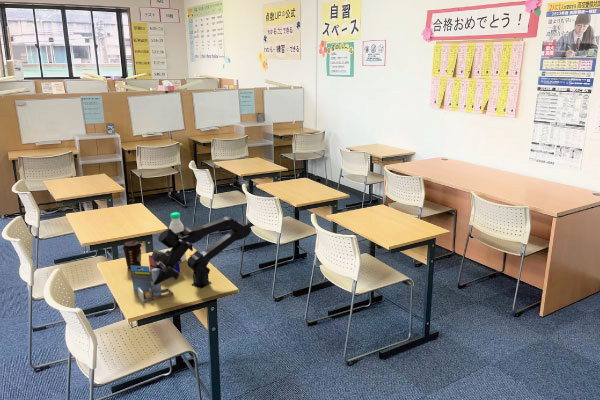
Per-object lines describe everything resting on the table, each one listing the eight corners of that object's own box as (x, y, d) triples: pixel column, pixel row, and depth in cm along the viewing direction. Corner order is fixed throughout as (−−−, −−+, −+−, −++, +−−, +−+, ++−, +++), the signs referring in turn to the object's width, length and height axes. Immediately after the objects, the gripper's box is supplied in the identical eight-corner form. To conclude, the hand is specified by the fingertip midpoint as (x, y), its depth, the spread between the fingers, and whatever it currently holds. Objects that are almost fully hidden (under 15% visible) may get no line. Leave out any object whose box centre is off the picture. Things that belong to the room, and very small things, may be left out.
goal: (148, 295, 208) (147, 284, 206) (152, 300, 203) (151, 290, 201) (138, 297, 205) (137, 287, 204) (142, 303, 201) (141, 292, 199)
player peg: (160, 292, 209) (157, 267, 206) (162, 296, 206) (160, 270, 203) (152, 295, 207) (149, 269, 204) (154, 298, 204) (152, 272, 201)
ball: (150, 290, 204) (143, 294, 202) (153, 296, 204) (147, 300, 202) (149, 290, 206) (143, 294, 205) (153, 296, 206) (146, 300, 205)
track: (168, 289, 212) (168, 287, 212) (173, 295, 207) (173, 292, 207) (149, 294, 208) (149, 292, 208) (154, 300, 203) (154, 298, 203)
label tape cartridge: (155, 288, 214) (153, 262, 211) (151, 292, 210) (149, 266, 207) (137, 287, 216) (134, 261, 212) (133, 290, 212) (130, 265, 208)
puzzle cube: (163, 280, 222) (161, 260, 219) (150, 274, 228) (148, 255, 225) (180, 272, 230) (178, 253, 227) (167, 267, 236) (165, 248, 233)
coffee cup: (141, 262, 241) (139, 238, 238) (145, 268, 234) (143, 243, 231) (123, 266, 237) (120, 242, 233) (127, 272, 230) (124, 247, 226)
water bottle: (178, 264, 240) (174, 216, 233) (168, 261, 243) (164, 214, 236) (189, 259, 245) (185, 212, 238) (179, 256, 249) (175, 210, 242)
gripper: (155, 237, 210) (132, 266, 207) (169, 250, 195) (144, 282, 192) (174, 250, 216) (152, 278, 214) (189, 264, 201) (165, 294, 199)
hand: (153, 283), depth 204 cm, fingers closed on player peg, 3 cm apart
